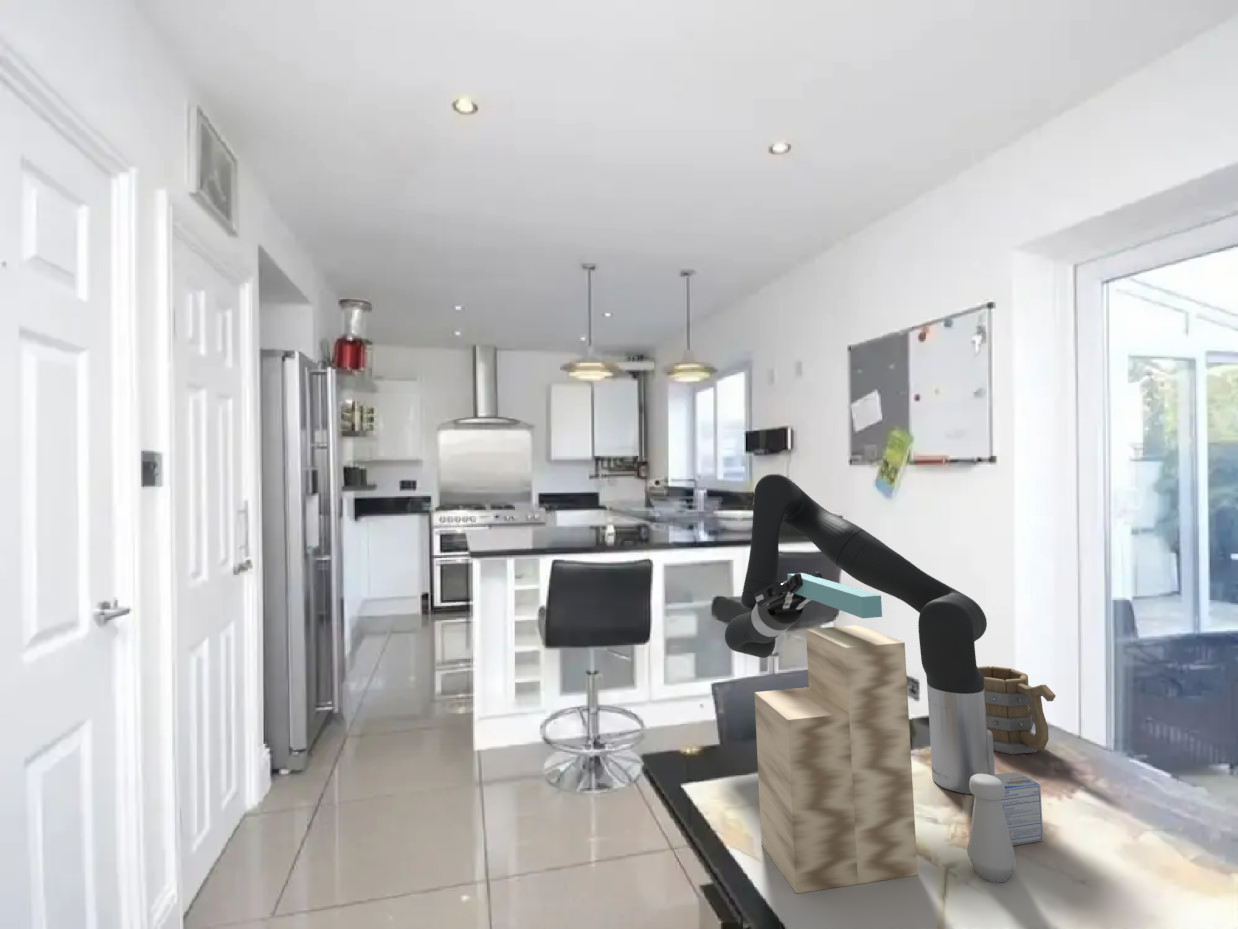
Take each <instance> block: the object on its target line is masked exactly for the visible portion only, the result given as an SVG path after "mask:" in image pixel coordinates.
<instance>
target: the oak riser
mask: <svg viewBox="0 0 1238 929" xmlns="http://www.w3.org/2000/svg"><path fill="white" fill-rule="evenodd" d="M805 635H806V636H805V637H806V639H805V640H806V657H807V658H806V659H807V677H808V678H807V679H808V680H807V681H808V686H805V687H803V686H802V687H796V688H783V689H774V690H764V691H763V690H762V691H755V692H754V693H753V694H754V708H755V710H754V711H755V712H754V713H755V715H754V716H755V730H756V732H755V734H756V736H755V737H756V752H757V753H756V754H757V777H758V779H757V780H758V796H759V798H758V799H759V817H760V818H759V820H760V822H759V823H760V839H761V841H760V842H761V846H762V847H763V848H764V850H765V851H766V853H767V854H768V855H769V857H770V859H772V861H773V862H774V864H775V865H776V867H777V869H778V870H779V871H780V873H781V874H782V876H783V877H784V878H785V880H786V881H787V883H788V884H789V885H790V887H791V888H792V890H793V891H794V893H795V894H802V893H811V892H815V891H822V890H829V889H834V888H840V887H846V886H854V885H860V884H867V883H872V882H880V881H887V880H891V879H898V878H905V877H912V876H913V877H914V876H918V875H919V874H918V856H917V842H916V841H917V838H916V836H917V835H916V822H915V804H914V786H913V785H914V784H913V782H914V781H913V767H912V750H911V749H912V748H911V731H910V716H909V715H910V714H909V695H908V679H907V678H908V676H907V661H906V660H907V658H906V645H905V644H906V643H905V642H904V641H902V640H898V639H896V638H893V637H890V636H888V635H886V634H884V633H881V632H878V631H876V630H873V629H871V628H868V627H865V626H863V625H859V624H853V625H839V626H827V627H817V628H816V627H815V628H814V627H813V628H806V629H805Z"/></svg>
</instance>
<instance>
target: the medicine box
mask: <svg viewBox="0 0 1238 929" xmlns="http://www.w3.org/2000/svg"><path fill="white" fill-rule="evenodd" d="M991 776H994V777H996V778H998V779H999V780H1000V781H1001V782H1002V783H1003V784H1004V787H1005V796H1004V799H1002V800H1001V803H1002V807H1003V811H1004V815H1005V818H1006V822H1007V826H1008V830H1009V834H1010V838H1011V842H1012V846H1017V845H1023V844H1024V845H1025V844H1030V843H1035V842H1036V843H1037V842H1041V841H1044V828H1043V827H1044V826H1043V825H1044V824H1043V811H1042V810H1043V809H1042V792H1041V790H1042V789H1041V784H1040V783H1038V782H1037V781H1036V780H1033V779H1032V778H1031V777H1028V776H1027V775H1025V774H1023V773H1021V772H1019V771H1013V772H1005V773H997V774H996V773H995V775H991Z"/></svg>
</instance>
